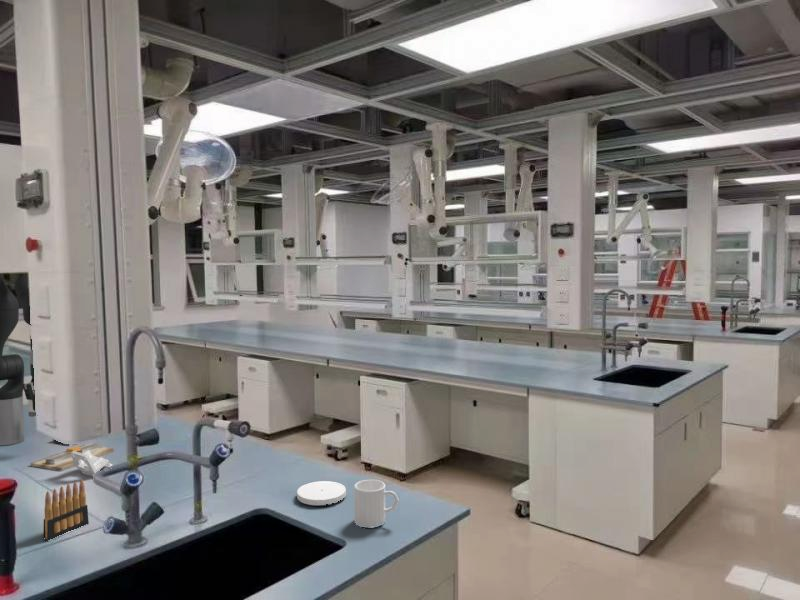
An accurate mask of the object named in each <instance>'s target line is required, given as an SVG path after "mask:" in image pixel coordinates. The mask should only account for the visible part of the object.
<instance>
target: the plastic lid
mask: <svg viewBox="0 0 800 600" xmlns="http://www.w3.org/2000/svg"><path fill="white" fill-rule="evenodd" d="M345 496H347V488H346V486H345V485H344V484H342V483H339V482H335V481H328V480H322V481H321V480H320V481H314V482H313V481H312V482H309V483H305V484H303V485H301V486H299V487H298V488H297V490H296V498H297V500H298V501H299V502H300V503H302V504H305V505H309V506H326V504H328V505H332V503H334V504H336V503H338V501H339V502H341V501H343V500H344V499H345V498H346V497H345ZM344 497H345V498H344ZM343 498H344V499H343ZM340 500H341V501H340Z"/></svg>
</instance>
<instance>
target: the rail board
mask: <svg viewBox="0 0 800 600" xmlns="http://www.w3.org/2000/svg"><path fill="white" fill-rule="evenodd" d="M78 447H80V448H81V450H80V451H77V452H79V453H84V452H85V451H87V450H89V451H90V452H91V454H92V455H93V456H97V457H103V456H105V455H108V454H110V453H113V452H114V451H115V449H114V448H111V447H105V446H100V444H99V443H93V442H90V443H88V444H82V445H78ZM73 466H74V467H75V465H74V462H73V459H72V456H71V452H67V451H66V450H65V451H62V452H59V453H58V452H57V453H56V454H53V455H50V456H47V457H44V458H41V459H38V460H36V461H33V462H30V467H35V468H40V469H46V468H47V469H48V470H53V469H55V470H54V471H59V470H63V471H65V470H64V469H66V470H68V469H70V467H71V468H74V467H73ZM67 468H68V469H67Z"/></svg>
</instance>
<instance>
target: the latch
mask: <svg viewBox="0 0 800 600" xmlns="http://www.w3.org/2000/svg"><path fill="white" fill-rule="evenodd" d="M80 450H81V448H80V447H79V446H76V445H72V446H69V447H67V448H66V450H65V451H67V452H73V451H76V452H77V451H80Z"/></svg>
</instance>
